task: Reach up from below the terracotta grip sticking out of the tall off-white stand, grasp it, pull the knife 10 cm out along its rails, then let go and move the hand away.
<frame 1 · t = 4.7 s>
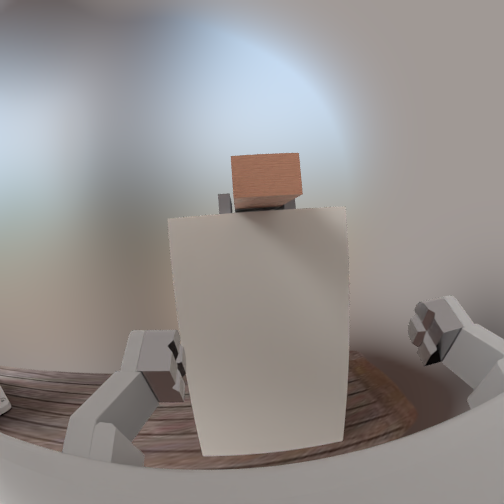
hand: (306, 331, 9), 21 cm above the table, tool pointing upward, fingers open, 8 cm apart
knife: (256, 194, 27), point 28 cm above the table, slide at 0.0 cm
stand: (269, 423, 34), on the table
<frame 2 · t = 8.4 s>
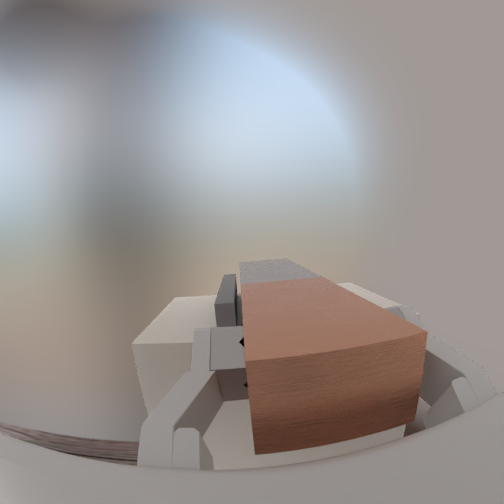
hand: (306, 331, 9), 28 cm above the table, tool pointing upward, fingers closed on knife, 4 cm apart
knife: (280, 301, 16), point 28 cm above the table, slide at 0.0 cm, touching gripper
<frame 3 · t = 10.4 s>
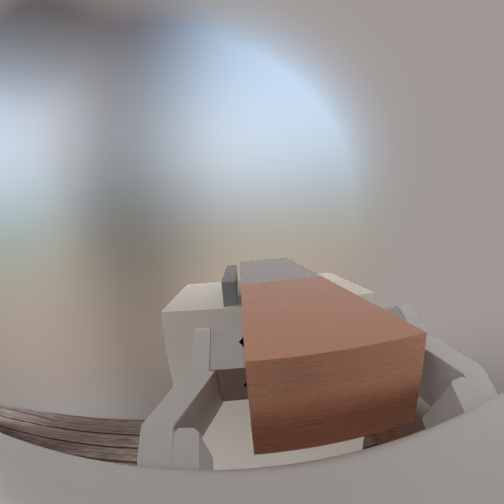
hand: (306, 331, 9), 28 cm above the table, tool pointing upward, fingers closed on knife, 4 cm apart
knife: (280, 300, 16), point 28 cm above the table, slide at 6.6 cm, touching gripper
stand: (276, 485, 29), on the table
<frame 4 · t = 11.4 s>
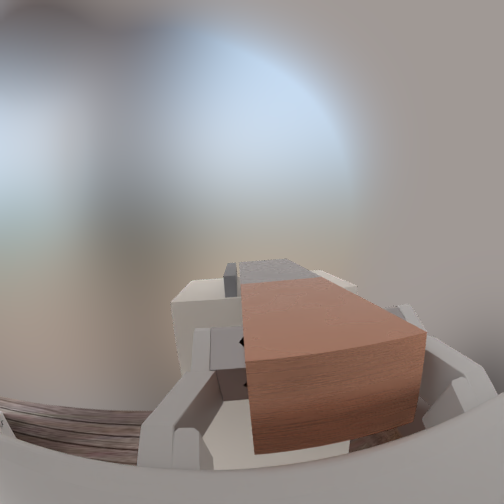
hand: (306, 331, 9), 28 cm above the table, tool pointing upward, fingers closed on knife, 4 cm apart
knife: (280, 301, 16), point 28 cm above the table, slide at 10.0 cm, touching gripper
stand: (273, 469, 32), on the table
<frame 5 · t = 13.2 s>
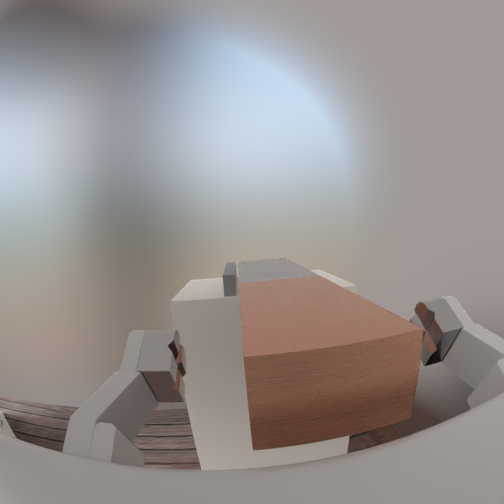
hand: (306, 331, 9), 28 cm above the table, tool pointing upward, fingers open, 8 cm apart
knife: (279, 299, 16), point 28 cm above the table, slide at 10.0 cm
stand: (272, 468, 32), on the table
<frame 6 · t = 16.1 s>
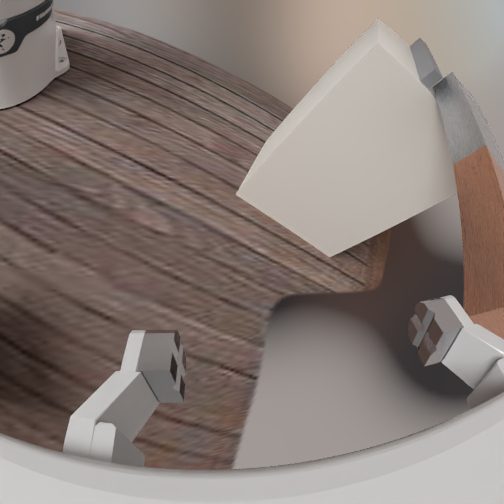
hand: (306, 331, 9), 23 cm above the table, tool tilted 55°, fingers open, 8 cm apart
knife: (482, 167, 13), point 28 cm above the table, slide at 9.6 cm
stand: (297, 196, 43), on the table
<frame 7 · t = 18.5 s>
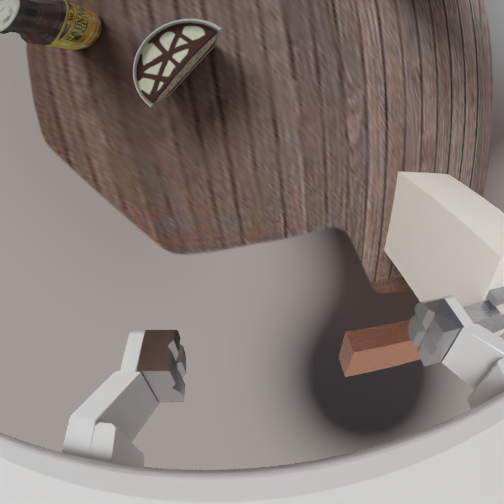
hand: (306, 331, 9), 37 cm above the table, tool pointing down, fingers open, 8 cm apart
half round cake: (177, 56, 34), on the table
knife: (430, 336, 27), point 28 cm above the table, slide at 9.6 cm
stand: (417, 212, 50), on the table
sauce bottle: (86, 30, 29), on the table
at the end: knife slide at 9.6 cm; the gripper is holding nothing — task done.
